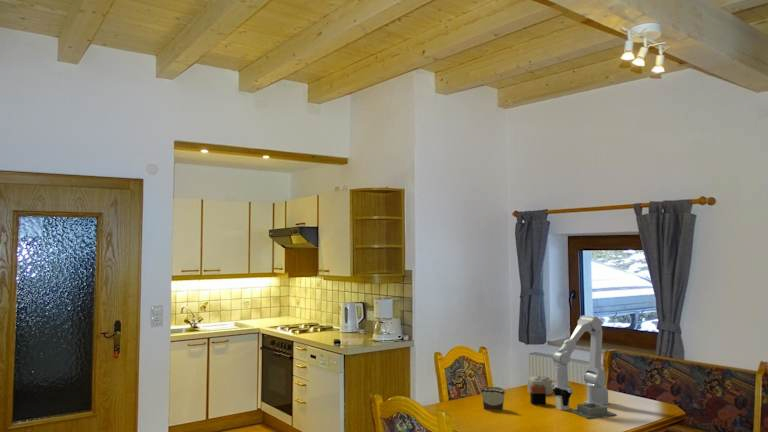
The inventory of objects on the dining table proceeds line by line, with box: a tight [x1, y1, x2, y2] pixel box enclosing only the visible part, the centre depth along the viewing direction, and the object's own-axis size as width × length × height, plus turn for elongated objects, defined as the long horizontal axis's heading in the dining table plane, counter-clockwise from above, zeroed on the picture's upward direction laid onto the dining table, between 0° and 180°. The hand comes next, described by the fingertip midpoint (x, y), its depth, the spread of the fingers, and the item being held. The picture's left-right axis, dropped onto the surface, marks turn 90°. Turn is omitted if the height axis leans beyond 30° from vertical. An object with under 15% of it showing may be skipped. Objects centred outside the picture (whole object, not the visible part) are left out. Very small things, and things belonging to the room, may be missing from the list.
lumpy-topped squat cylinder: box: [526, 374, 554, 396], centre depth 318 cm, size 10×13×9 cm
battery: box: [529, 383, 547, 406], centre depth 294 cm, size 4×7×10 cm, turn 93°
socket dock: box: [568, 402, 617, 420], centre depth 276 cm, size 16×14×4 cm
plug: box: [555, 395, 571, 411], centre depth 285 cm, size 5×4×6 cm
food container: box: [480, 386, 506, 412], centre depth 286 cm, size 12×6×10 cm, turn 65°
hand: (562, 404), depth 285 cm, fingers closed on plug, 4 cm apart
